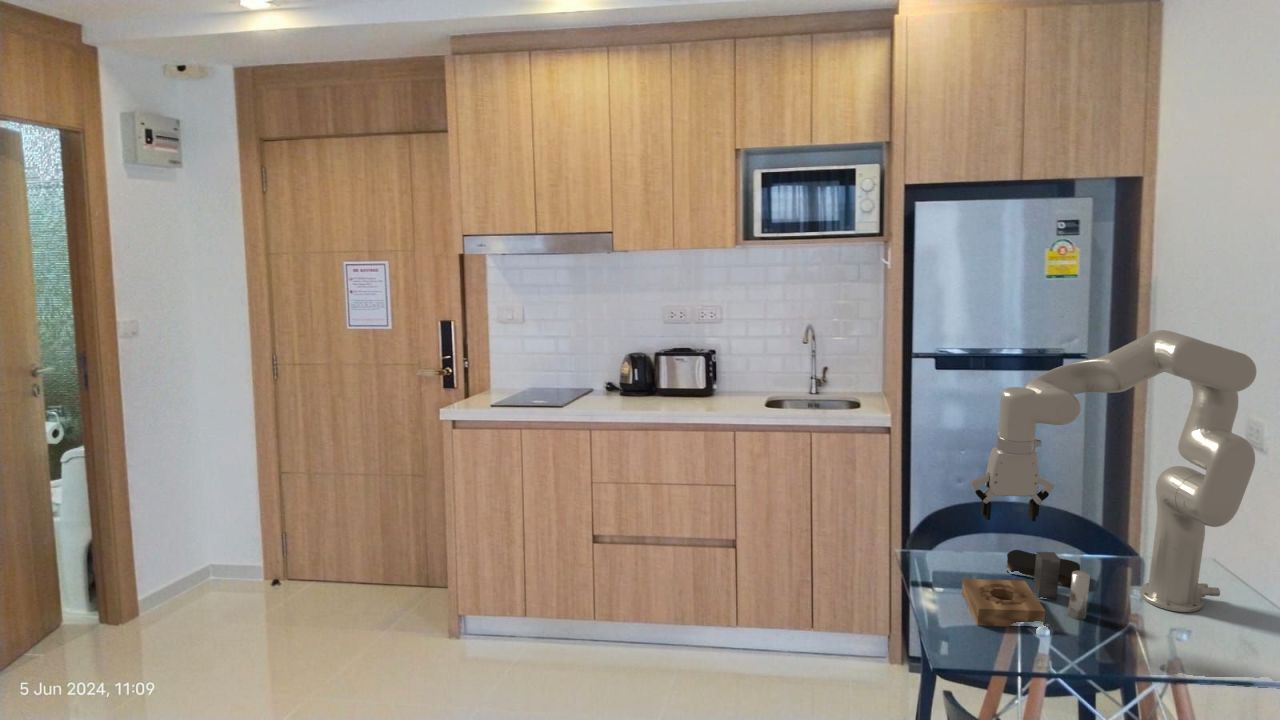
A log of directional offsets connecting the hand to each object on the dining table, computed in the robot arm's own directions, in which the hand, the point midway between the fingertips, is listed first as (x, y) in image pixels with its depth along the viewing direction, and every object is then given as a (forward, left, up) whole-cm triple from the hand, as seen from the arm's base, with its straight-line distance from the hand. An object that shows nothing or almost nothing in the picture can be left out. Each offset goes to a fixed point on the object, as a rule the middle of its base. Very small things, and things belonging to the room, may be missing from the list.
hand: (1009, 518), depth 197 cm
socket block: (0, 0, -22) cm, 22 cm away
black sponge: (-15, -19, -23) cm, 33 cm away
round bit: (-16, +1, -22) cm, 27 cm away
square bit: (-12, -8, -22) cm, 27 cm away
